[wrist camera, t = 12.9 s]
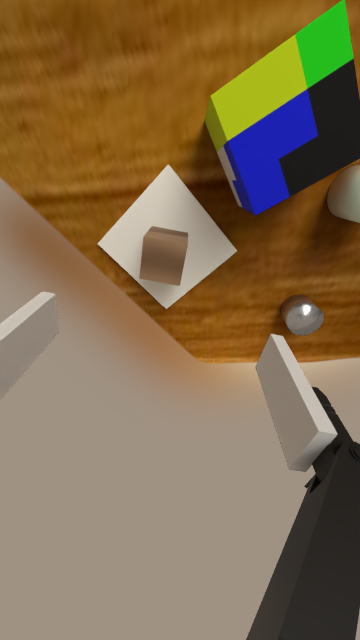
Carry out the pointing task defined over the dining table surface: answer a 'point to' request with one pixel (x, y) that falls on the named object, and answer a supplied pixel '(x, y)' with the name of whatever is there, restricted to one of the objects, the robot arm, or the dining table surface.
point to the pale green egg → (345, 195)
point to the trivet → (176, 214)
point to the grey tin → (301, 315)
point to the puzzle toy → (289, 115)
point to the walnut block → (163, 255)
